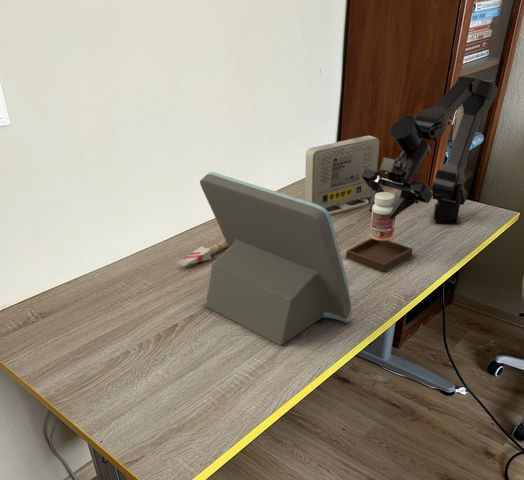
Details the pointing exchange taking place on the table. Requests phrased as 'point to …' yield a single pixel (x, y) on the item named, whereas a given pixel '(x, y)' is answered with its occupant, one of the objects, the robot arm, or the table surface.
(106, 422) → the table surface
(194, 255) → the chopstick bundle
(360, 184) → the network device
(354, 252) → the walnut tray
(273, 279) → the touchscreen device
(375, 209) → the pill bottle
